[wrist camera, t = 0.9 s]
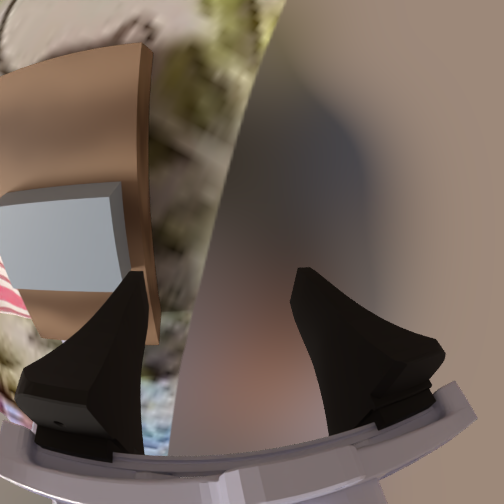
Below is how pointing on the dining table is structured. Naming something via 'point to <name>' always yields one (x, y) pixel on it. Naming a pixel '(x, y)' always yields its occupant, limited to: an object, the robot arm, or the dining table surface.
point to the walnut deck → (83, 158)
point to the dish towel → (10, 296)
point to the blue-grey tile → (65, 238)
